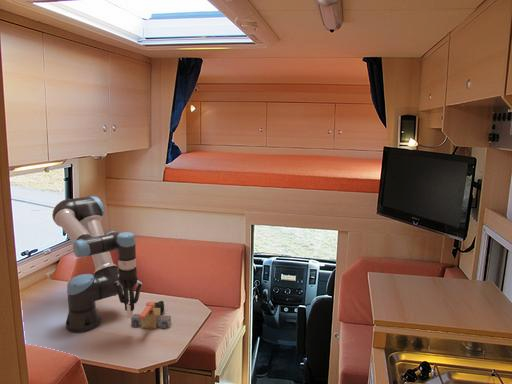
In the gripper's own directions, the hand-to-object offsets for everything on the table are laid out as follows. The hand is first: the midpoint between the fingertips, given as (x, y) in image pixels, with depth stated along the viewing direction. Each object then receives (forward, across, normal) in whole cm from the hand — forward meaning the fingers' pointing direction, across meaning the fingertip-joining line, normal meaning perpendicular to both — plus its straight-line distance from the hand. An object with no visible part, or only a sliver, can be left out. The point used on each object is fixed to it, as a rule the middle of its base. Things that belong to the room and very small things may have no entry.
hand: (130, 316), depth 182 cm
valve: (+9, +6, +9) cm, 14 cm away
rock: (+9, +5, +19) cm, 22 cm away
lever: (-1, +6, +4) cm, 8 cm away
